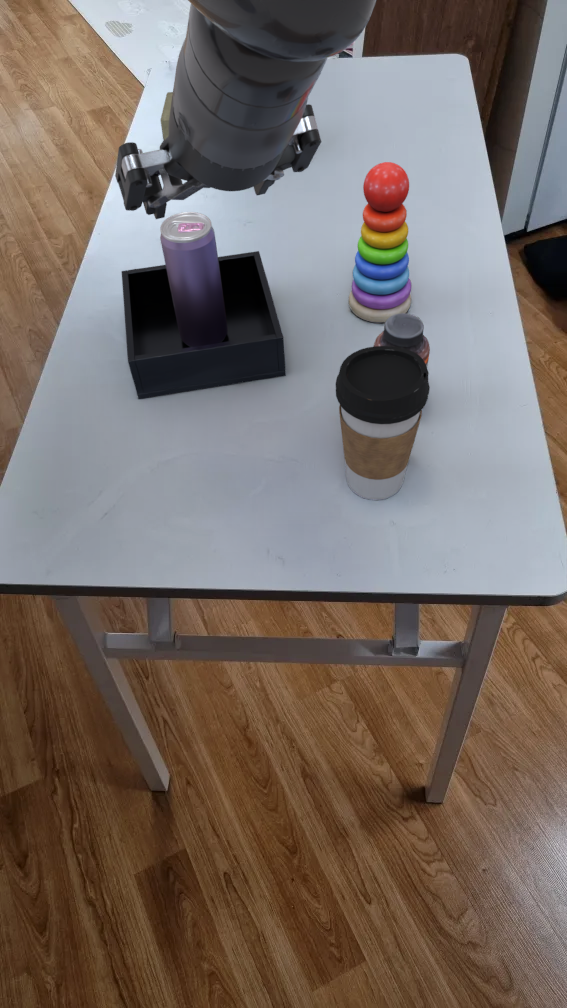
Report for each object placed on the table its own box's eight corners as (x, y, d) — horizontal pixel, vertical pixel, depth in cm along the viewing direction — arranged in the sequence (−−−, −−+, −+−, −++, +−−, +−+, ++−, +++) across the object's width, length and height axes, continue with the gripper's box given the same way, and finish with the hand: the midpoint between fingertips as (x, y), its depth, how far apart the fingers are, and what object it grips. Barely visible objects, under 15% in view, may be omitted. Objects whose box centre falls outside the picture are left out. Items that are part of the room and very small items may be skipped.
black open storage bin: (138, 399, 84) (127, 361, 80) (131, 309, 95) (121, 270, 91) (285, 376, 86) (283, 337, 81) (262, 289, 96) (259, 250, 92)
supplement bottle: (370, 425, 80) (376, 344, 71) (366, 388, 84) (371, 307, 75) (424, 423, 80) (437, 342, 71) (418, 386, 84) (429, 305, 75)
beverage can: (226, 351, 88) (211, 239, 76) (178, 352, 88) (155, 242, 76) (229, 320, 91) (215, 209, 80) (183, 321, 92) (161, 211, 80)
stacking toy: (344, 290, 95) (347, 149, 81) (404, 285, 96) (418, 142, 81) (353, 328, 91) (358, 185, 76) (416, 322, 91) (433, 178, 76)
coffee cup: (406, 517, 72) (422, 410, 60) (325, 500, 74) (324, 393, 62) (422, 456, 77) (439, 346, 65) (345, 442, 79) (348, 332, 67)
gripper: (331, 14, 43) (276, 129, 59) (98, 58, 41) (105, 166, 56) (364, 141, 44) (301, 221, 60) (139, 192, 42) (135, 261, 58)
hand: (206, 194), depth 58 cm, fingers open, 8 cm apart
